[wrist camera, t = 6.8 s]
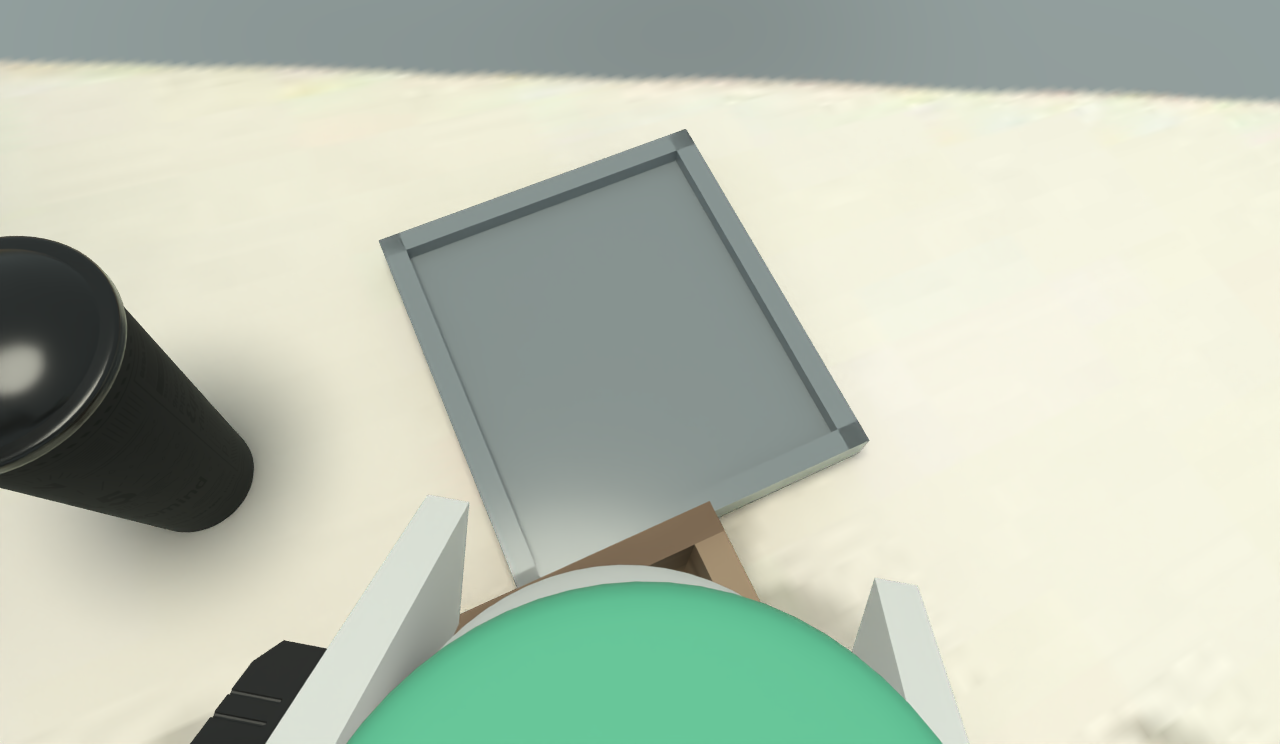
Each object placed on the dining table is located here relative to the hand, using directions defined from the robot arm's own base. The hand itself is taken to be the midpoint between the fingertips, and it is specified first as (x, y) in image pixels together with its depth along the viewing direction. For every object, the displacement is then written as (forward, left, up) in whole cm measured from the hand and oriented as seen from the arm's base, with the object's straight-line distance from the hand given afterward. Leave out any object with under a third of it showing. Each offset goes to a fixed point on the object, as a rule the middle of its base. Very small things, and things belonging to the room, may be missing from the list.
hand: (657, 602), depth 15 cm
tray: (-13, +5, -21) cm, 25 cm away
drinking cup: (-15, -14, -21) cm, 29 cm away
